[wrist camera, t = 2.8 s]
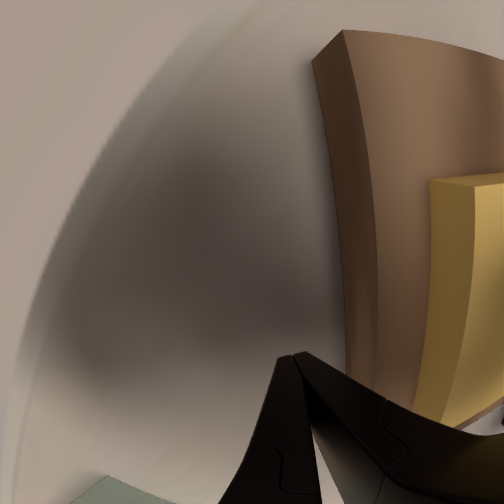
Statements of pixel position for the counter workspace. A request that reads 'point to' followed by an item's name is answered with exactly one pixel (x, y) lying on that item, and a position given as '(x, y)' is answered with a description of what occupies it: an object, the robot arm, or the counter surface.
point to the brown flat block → (400, 183)
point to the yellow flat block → (464, 300)
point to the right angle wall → (117, 494)
